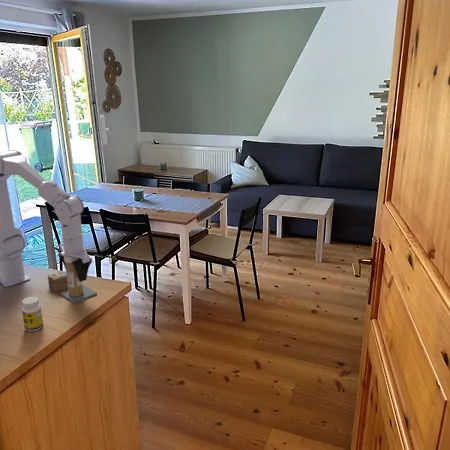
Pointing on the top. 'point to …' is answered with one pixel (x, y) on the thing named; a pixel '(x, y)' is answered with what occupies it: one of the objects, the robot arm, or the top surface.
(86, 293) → the grey mat
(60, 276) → the walnut block
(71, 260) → the sprinkles bottle
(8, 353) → the top surface
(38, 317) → the supplement bottle
